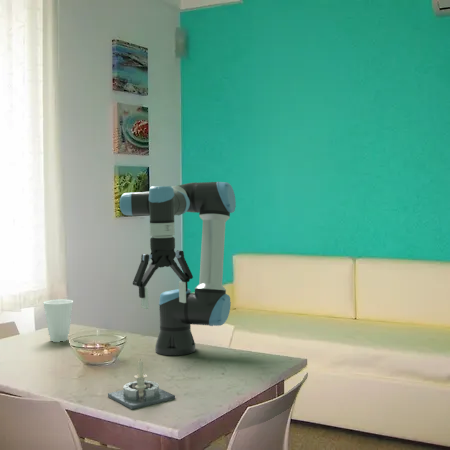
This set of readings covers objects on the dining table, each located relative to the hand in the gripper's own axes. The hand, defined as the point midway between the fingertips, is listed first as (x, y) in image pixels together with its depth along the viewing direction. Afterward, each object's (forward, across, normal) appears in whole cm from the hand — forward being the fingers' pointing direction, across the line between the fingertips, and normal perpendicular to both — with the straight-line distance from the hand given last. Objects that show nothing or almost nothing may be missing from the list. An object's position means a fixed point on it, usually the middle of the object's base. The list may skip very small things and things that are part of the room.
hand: (164, 305), depth 185 cm
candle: (+23, -13, -7) cm, 28 cm away
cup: (+26, -2, +79) cm, 83 cm away
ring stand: (+24, -13, -7) cm, 28 cm away
